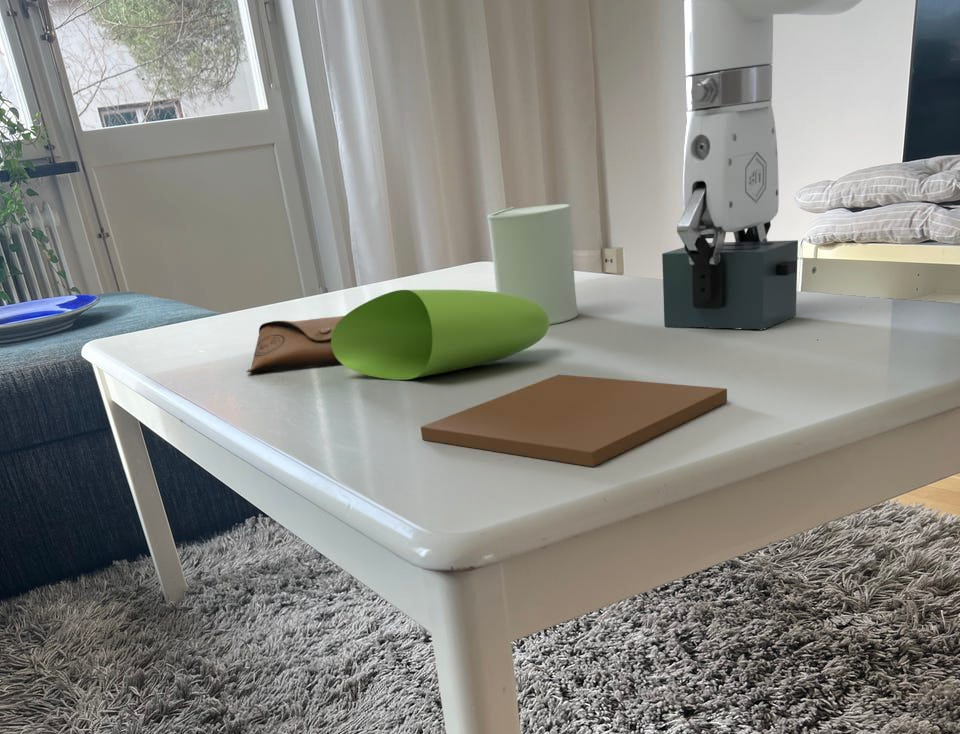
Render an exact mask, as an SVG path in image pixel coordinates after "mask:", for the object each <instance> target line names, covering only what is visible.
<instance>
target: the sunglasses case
mask: <svg viewBox="0 0 960 734" xmlns="http://www.w3.org/2000/svg"><path fill="white" fill-rule="evenodd" d="M344 316H345V315H340V316H331V317H320V318H319V317H318V318H311V319H302V320H296V321H295V320H293V321H292V320H271V321H267V322H264V323H262V324H261V325H260V326H259V327H258V337H257V340H256V344H255V345H256V346H255V349H254V353H253V357H252V362H251V366H250V368H248V369H247V371H246V373H254V372H260V371H268V370H269V371H270V370H279V369H281V370H282V369H299V368H300V369H301V368H308V367H322V366H336V365H337V366H339V365H342V364H341V363H340V362H339V361H338V359H337V358H336V357H335V355H334V353H333V350H332V345H331V337H332V332H333V330H334V328H335V326H336V325H337V323H338V322H339V321H340V320H341V319H342V318H343V317H344Z"/></svg>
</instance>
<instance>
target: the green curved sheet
mask: <svg viewBox="0 0 960 734" xmlns="http://www.w3.org/2000/svg"><path fill="white" fill-rule="evenodd" d="M343 316H344V317H343V318H342V319H341V320H340V321H339V322H338V323H337V325H336V326H335V328H334V330H333V332H332V337H331V345H332V350H333V353H334V355H335V357H336V358H337V359H338V361H339V362H340V363H341V364H340V365H342V366H344V367H345V368H347V369H349V370H351V371H353V372H356V373H359V374H361V375H366V376H369V377H374V378H379V379H386V380H395V381H398V380H399V381H403V380H405V381H406V380H412V379H418V378H423V377H429V376H434V375H439V374H446V373H450V372H454V371H459V370H463V369H464V370H465V369H468V368H472V367H477V366H481V365H485V364H488V363H493V362H496V361H499V360H503V359H505V358H509V357H511V356H514V355H516V354H518V353H520V352H523V351H524V350H526V349H528V348H531V347H532V346H533V345H536V344H537V343H539V341H541V340H542V339H543V338H544V337H545V335H546V334H547V333H548V331H549V328H550V325H549V316H548V314H547V312H546V311H545V310H544V309H543V308H542V307H541V306H540V305H538V304H537V303H535V302H533V301H530V300H528V299H525V298H522V297H518V296H514V295H509V294H504V293H498V292H496V291H487V290H475V289H473V290H472V289H398V290H393V291H390V292H386V293H384V294H381V295H378V296H377V297H375V298H372V299H370V300H368V301H366V302H364V303H362V304H361V305H359V306H357V307H356V308H354V309H352V310H350V312H348V313H346V314H345V315H343Z"/></svg>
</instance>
